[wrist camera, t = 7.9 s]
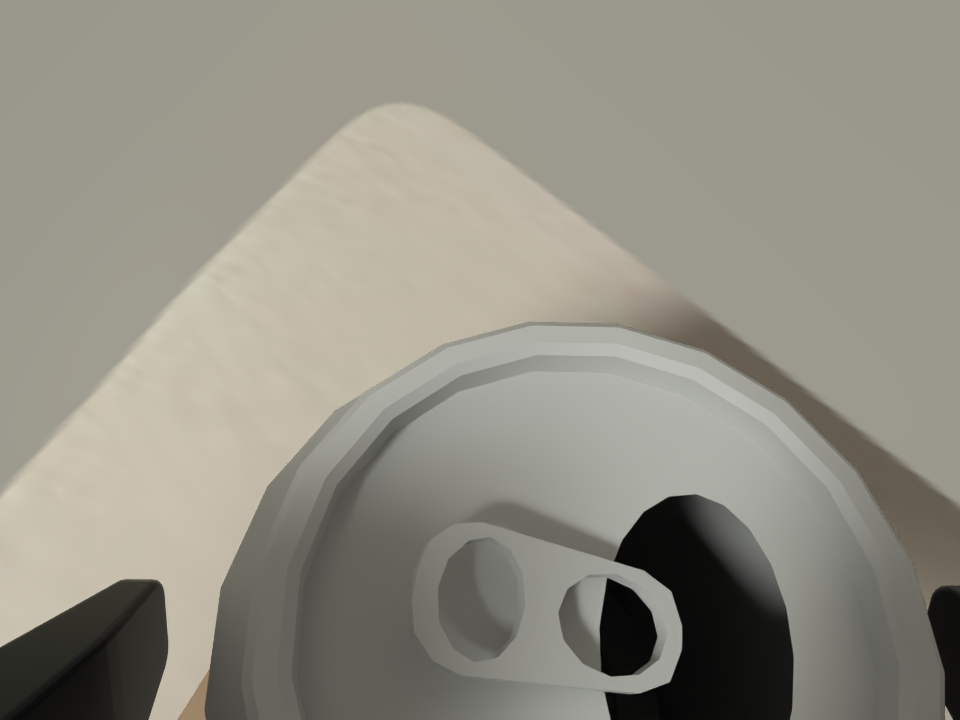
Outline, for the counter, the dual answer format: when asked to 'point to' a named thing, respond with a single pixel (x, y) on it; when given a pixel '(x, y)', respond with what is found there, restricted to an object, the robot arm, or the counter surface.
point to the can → (571, 551)
